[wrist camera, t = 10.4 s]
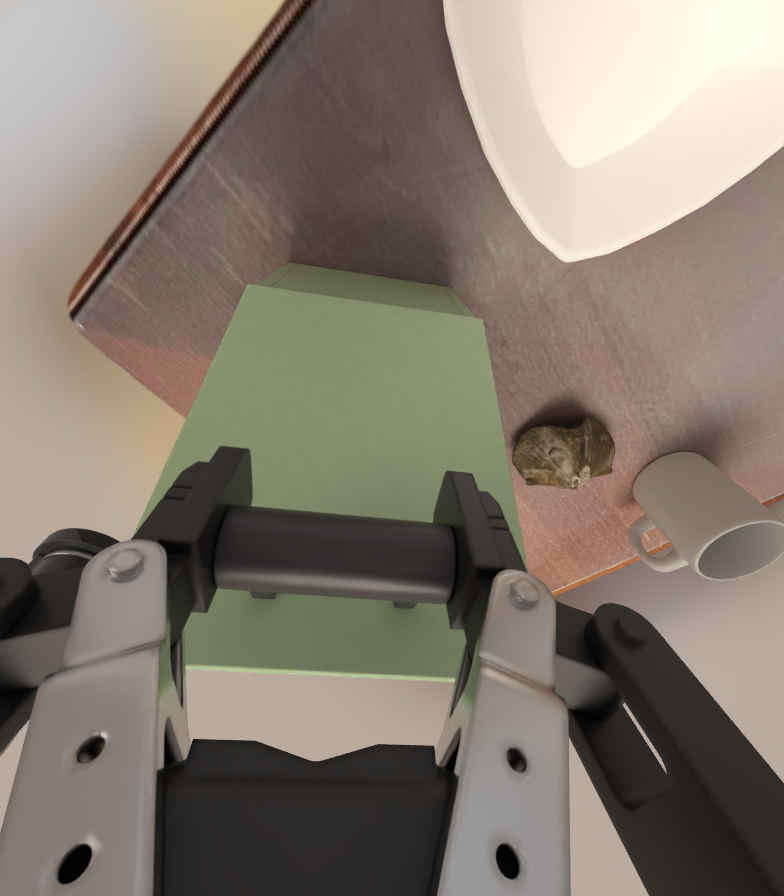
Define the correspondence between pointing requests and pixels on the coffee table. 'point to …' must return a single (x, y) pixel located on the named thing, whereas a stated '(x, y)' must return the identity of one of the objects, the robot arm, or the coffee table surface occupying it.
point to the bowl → (618, 108)
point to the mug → (704, 519)
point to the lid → (341, 485)
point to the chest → (367, 288)
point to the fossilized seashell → (564, 454)
